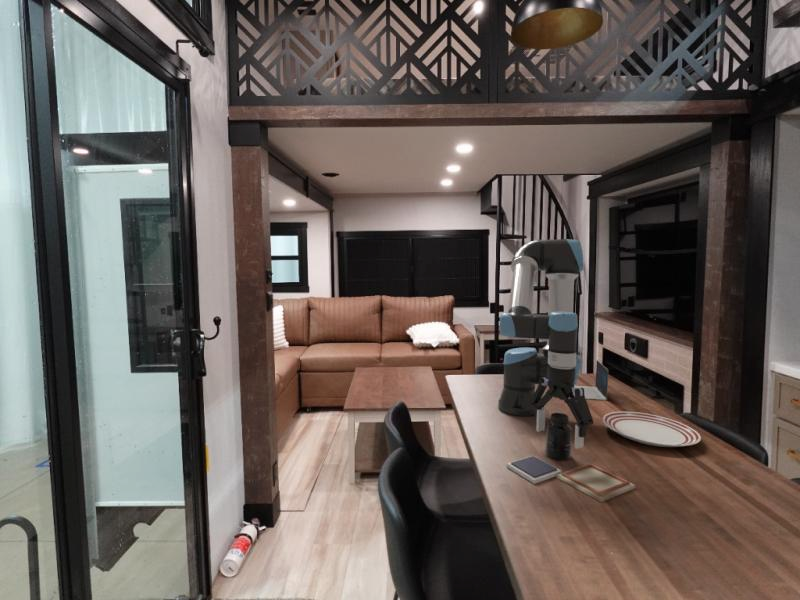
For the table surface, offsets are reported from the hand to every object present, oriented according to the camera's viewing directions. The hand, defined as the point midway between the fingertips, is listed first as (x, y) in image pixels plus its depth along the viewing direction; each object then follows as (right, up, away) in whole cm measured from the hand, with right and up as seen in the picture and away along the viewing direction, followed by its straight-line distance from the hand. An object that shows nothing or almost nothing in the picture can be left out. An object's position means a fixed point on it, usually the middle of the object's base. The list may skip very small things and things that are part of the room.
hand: (558, 438), depth 122 cm
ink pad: (-10, -6, -8) cm, 14 cm away
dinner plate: (+35, -4, +16) cm, 39 cm away
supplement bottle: (0, -5, +1) cm, 5 cm away
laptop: (+34, 0, +59) cm, 68 cm away
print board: (+4, -7, -14) cm, 16 cm away
